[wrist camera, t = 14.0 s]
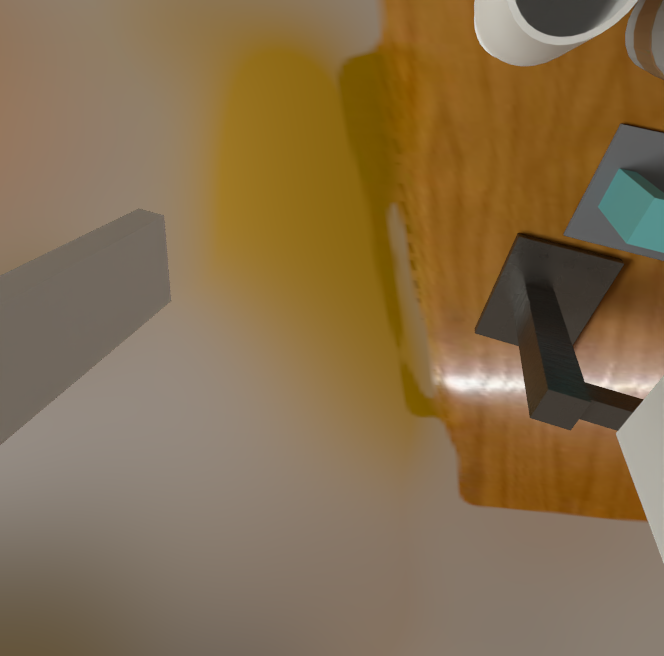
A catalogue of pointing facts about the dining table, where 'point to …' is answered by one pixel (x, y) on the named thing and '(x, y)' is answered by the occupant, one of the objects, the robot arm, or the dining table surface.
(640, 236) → the u-shaped block
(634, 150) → the mat
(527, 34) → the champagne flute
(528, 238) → the stand
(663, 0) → the coffee cup
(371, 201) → the dining table surface
